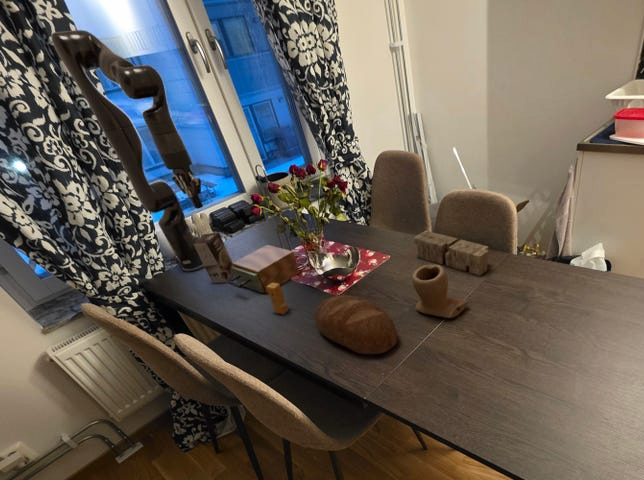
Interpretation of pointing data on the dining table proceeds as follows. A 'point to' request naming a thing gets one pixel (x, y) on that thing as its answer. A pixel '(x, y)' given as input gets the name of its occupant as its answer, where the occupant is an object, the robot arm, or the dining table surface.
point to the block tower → (452, 252)
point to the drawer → (246, 279)
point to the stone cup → (435, 292)
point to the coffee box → (214, 257)
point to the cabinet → (270, 265)
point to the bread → (356, 324)
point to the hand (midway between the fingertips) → (199, 207)
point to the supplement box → (277, 298)
